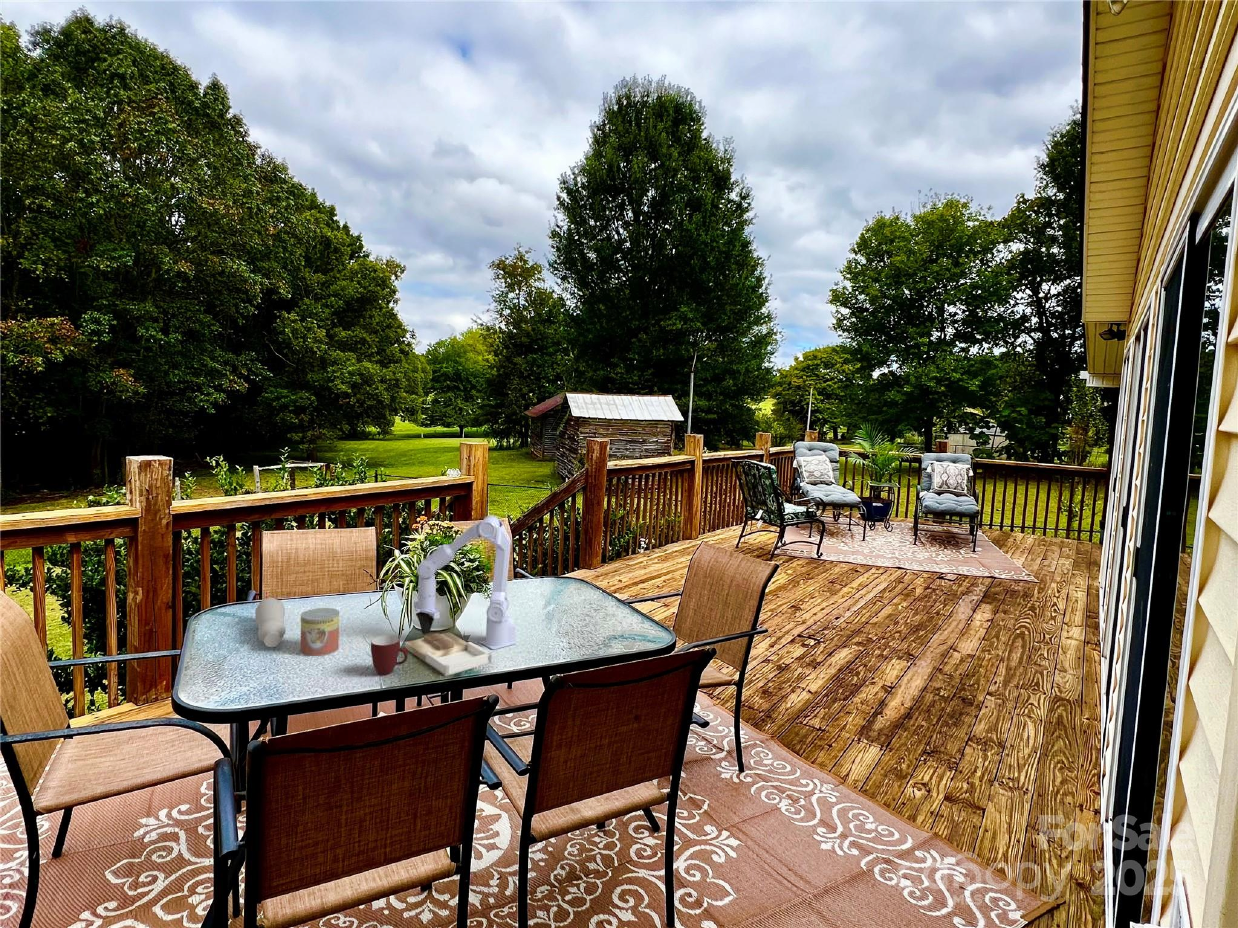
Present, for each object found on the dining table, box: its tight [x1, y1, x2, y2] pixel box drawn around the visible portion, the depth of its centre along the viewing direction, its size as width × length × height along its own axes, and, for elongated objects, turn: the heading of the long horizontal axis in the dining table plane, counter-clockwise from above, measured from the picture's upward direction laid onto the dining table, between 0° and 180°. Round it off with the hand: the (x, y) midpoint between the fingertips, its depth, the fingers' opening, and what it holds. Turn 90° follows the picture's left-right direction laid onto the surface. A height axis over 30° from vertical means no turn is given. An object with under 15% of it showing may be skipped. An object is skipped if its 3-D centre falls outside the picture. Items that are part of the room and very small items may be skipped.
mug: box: [370, 634, 409, 676], centre depth 189 cm, size 10×8×10 cm
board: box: [404, 631, 468, 663], centre depth 209 cm, size 16×14×2 cm
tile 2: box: [432, 638, 454, 651], centre depth 206 cm, size 5×5×2 cm
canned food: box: [299, 607, 340, 657], centre depth 202 cm, size 11×11×12 cm
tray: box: [425, 641, 492, 677], centre depth 199 cm, size 16×13×3 cm
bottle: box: [254, 597, 286, 648], centre depth 212 cm, size 9×9×30 cm
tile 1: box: [423, 632, 445, 645], centre depth 210 cm, size 5×5×2 cm
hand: (425, 633), depth 214 cm, fingers closed
